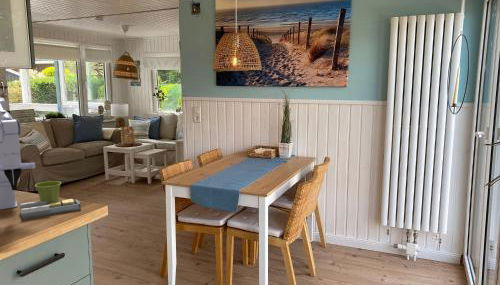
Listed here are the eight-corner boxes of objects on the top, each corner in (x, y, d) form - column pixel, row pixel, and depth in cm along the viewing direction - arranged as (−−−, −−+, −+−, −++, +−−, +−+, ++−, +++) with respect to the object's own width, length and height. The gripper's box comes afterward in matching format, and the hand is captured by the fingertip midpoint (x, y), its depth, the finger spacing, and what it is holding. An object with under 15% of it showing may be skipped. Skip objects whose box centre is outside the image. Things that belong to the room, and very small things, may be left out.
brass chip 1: (48, 208, 150) (47, 202, 150) (59, 206, 152) (59, 200, 152) (49, 211, 147) (49, 205, 146) (61, 209, 149) (60, 203, 148)
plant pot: (31, 206, 155) (29, 185, 154) (52, 200, 163) (51, 179, 162) (46, 209, 151) (44, 188, 149) (67, 203, 159) (66, 182, 158)
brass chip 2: (61, 206, 152) (61, 200, 152) (72, 204, 155) (72, 198, 154) (63, 209, 149) (62, 203, 149) (74, 207, 151) (74, 201, 151)
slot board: (20, 212, 147) (19, 203, 146) (47, 208, 152) (46, 199, 151) (22, 219, 140) (21, 210, 139) (50, 214, 145) (49, 205, 144)
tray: (47, 209, 151) (47, 203, 151) (77, 204, 157) (76, 199, 157) (50, 214, 145) (49, 208, 145) (80, 209, 151) (80, 203, 151)
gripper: (-14, 156, 133) (-10, 195, 135) (35, 152, 141) (37, 189, 143) (-14, 153, 139) (-10, 190, 141) (33, 150, 147) (35, 185, 149)
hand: (14, 189), depth 142 cm, fingers closed
